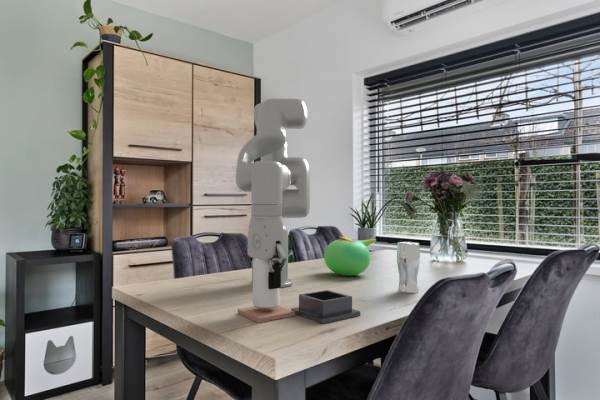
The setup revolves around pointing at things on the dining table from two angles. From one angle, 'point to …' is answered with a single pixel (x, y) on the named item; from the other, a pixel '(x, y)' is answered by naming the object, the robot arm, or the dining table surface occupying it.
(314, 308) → the sleeve
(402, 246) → the beer glass
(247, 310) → the mat
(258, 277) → the can
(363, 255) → the green round teapot
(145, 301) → the dining table surface
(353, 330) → the dining table surface
